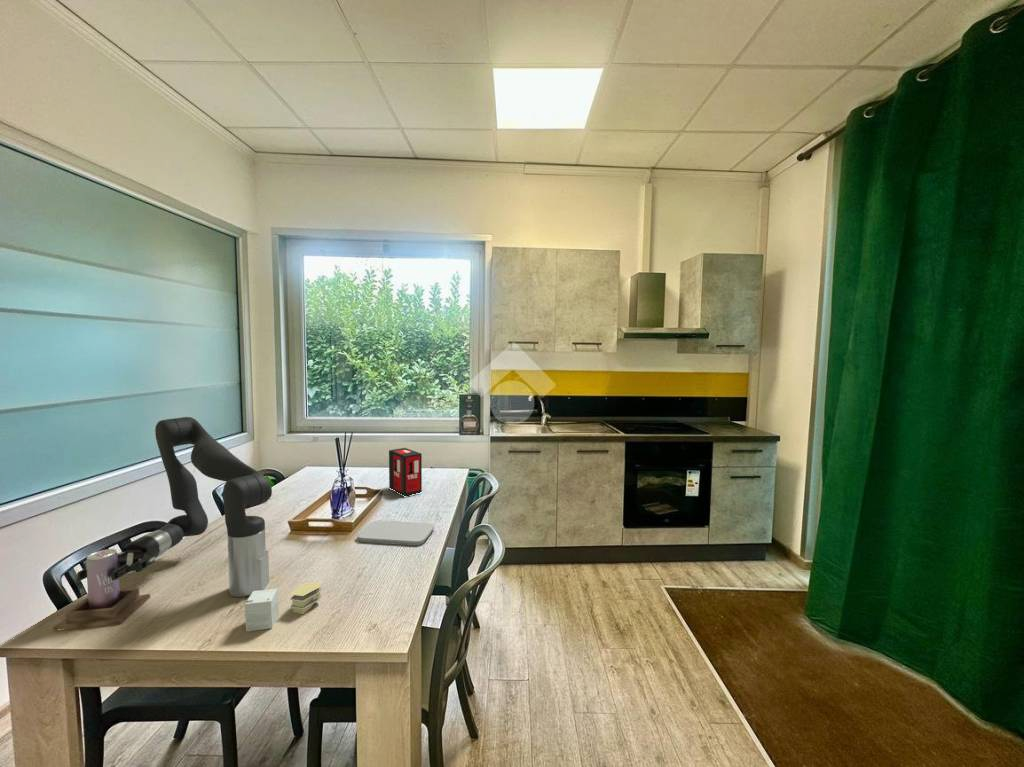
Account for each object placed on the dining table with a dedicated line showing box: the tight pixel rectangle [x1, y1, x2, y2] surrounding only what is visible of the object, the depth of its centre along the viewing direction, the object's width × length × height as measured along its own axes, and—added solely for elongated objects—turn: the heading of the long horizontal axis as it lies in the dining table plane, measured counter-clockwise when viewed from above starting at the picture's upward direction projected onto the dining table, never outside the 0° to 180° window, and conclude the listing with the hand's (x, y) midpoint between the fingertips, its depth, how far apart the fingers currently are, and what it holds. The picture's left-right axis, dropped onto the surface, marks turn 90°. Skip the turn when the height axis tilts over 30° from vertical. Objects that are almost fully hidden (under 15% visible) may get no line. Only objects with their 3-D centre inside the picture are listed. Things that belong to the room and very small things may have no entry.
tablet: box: [356, 519, 435, 546], centre depth 161 cm, size 16×26×2 cm, turn 83°
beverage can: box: [85, 548, 121, 610], centre depth 111 cm, size 6×6×15 cm
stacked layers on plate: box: [290, 581, 323, 615], centre depth 115 cm, size 10×9×6 cm
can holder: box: [53, 587, 151, 631], centre depth 111 cm, size 14×12×4 cm
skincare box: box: [244, 588, 280, 632], centre depth 108 cm, size 6×6×7 cm
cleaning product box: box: [388, 447, 423, 497], centre depth 212 cm, size 16×9×20 cm, turn 43°
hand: (95, 576), depth 109 cm, fingers open, 8 cm apart
